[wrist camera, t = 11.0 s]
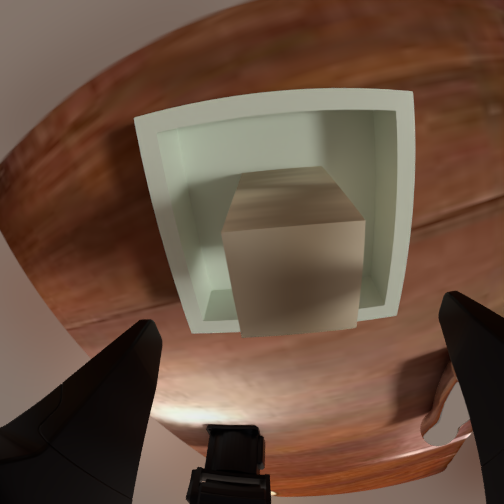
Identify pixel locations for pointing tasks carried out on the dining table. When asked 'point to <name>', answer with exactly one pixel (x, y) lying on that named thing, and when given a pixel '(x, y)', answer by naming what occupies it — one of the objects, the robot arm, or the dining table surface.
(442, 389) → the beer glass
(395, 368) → the dining table surface
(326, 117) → the bin
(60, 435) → the robot arm
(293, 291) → the birch block
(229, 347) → the dining table surface
